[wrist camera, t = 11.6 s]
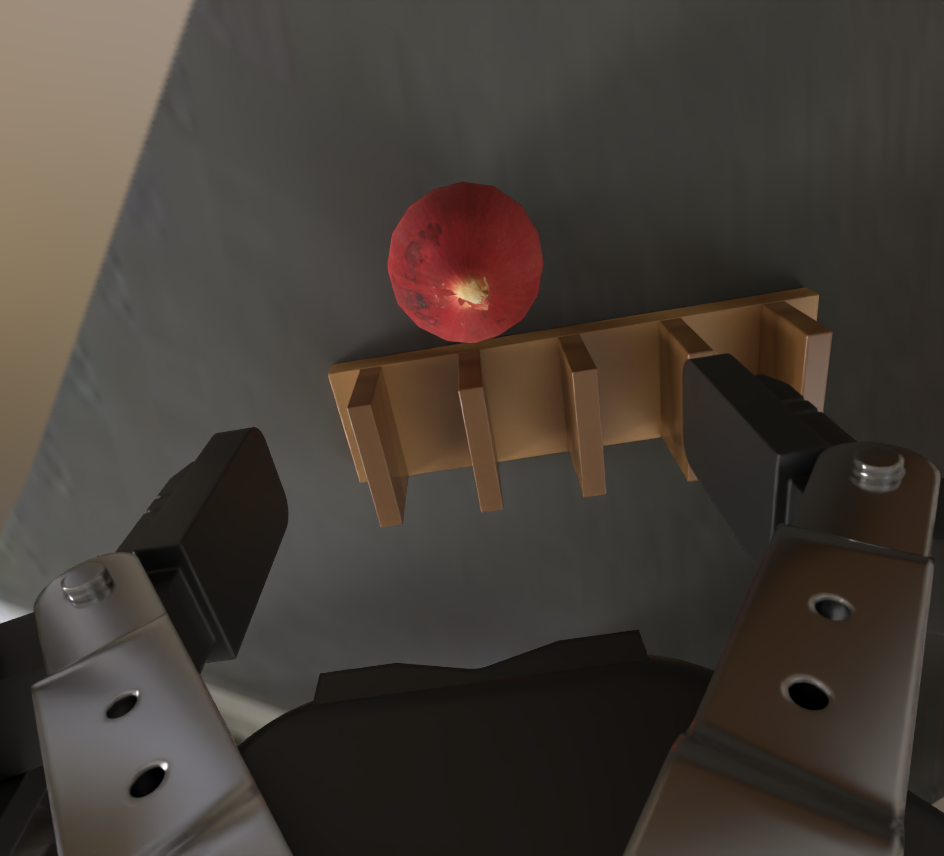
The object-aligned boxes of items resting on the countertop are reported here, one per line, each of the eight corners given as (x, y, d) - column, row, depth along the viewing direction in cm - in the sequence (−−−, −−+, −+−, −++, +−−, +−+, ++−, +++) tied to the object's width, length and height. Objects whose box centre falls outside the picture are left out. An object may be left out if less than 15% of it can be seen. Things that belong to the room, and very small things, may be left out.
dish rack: (363, 470, 32) (347, 532, 28) (332, 363, 29) (309, 413, 25) (794, 404, 31) (854, 458, 26) (806, 286, 28) (874, 324, 24)
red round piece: (417, 322, 28) (406, 397, 21) (378, 193, 26) (350, 230, 19) (542, 291, 28) (572, 358, 21) (516, 156, 25) (539, 179, 18)
